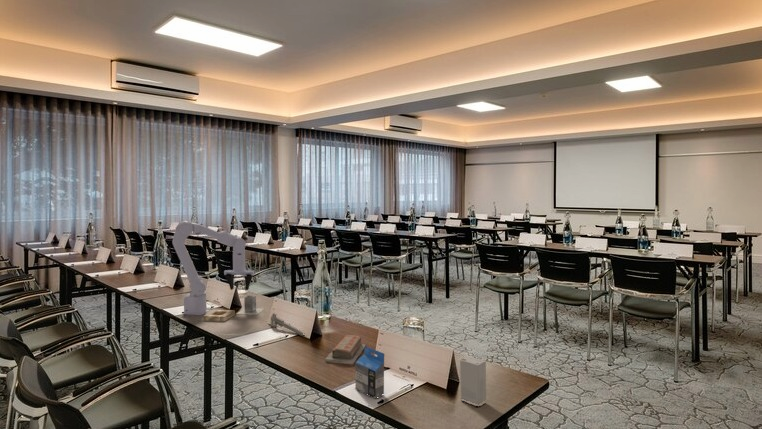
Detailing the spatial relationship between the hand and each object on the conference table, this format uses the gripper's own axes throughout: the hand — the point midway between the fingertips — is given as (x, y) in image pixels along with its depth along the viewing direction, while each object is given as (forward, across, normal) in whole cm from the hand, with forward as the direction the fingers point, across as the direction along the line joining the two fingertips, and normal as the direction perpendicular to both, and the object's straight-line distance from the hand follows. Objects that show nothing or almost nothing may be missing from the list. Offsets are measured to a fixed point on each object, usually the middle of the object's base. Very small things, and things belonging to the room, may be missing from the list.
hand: (239, 289), depth 216 cm
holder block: (+9, -3, -17) cm, 20 cm away
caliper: (+10, +33, -31) cm, 47 cm away
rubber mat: (+9, +8, -6) cm, 14 cm away
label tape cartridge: (+10, +73, -82) cm, 110 cm away
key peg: (+9, +8, -6) cm, 13 cm away
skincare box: (+10, +102, -86) cm, 134 cm away
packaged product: (+10, +61, -53) cm, 82 cm away
